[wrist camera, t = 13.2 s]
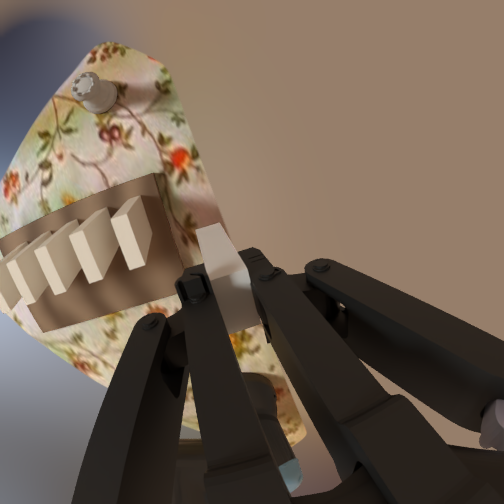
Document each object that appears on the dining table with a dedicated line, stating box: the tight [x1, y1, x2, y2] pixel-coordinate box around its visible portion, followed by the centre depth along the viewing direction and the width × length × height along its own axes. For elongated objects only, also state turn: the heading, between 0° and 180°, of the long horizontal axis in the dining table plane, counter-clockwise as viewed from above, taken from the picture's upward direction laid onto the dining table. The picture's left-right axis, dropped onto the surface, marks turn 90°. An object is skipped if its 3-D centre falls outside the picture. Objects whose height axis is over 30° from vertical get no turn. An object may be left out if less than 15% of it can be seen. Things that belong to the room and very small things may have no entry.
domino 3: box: [34, 219, 82, 295], centre depth 26 cm, size 2×5×10 cm, turn 12°
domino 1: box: [0, 242, 28, 314], centre depth 24 cm, size 2×5×10 cm, turn 12°
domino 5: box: [110, 195, 152, 270], centre depth 27 cm, size 2×5×10 cm, turn 12°
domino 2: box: [6, 231, 52, 305], centre depth 25 cm, size 2×5×10 cm, turn 13°
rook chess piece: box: [71, 72, 117, 114], centre depth 22 cm, size 4×4×8 cm
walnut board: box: [0, 173, 185, 333], centre depth 32 cm, size 26×16×2 cm, turn 103°
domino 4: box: [69, 207, 119, 284], centre depth 26 cm, size 2×5×10 cm, turn 12°
